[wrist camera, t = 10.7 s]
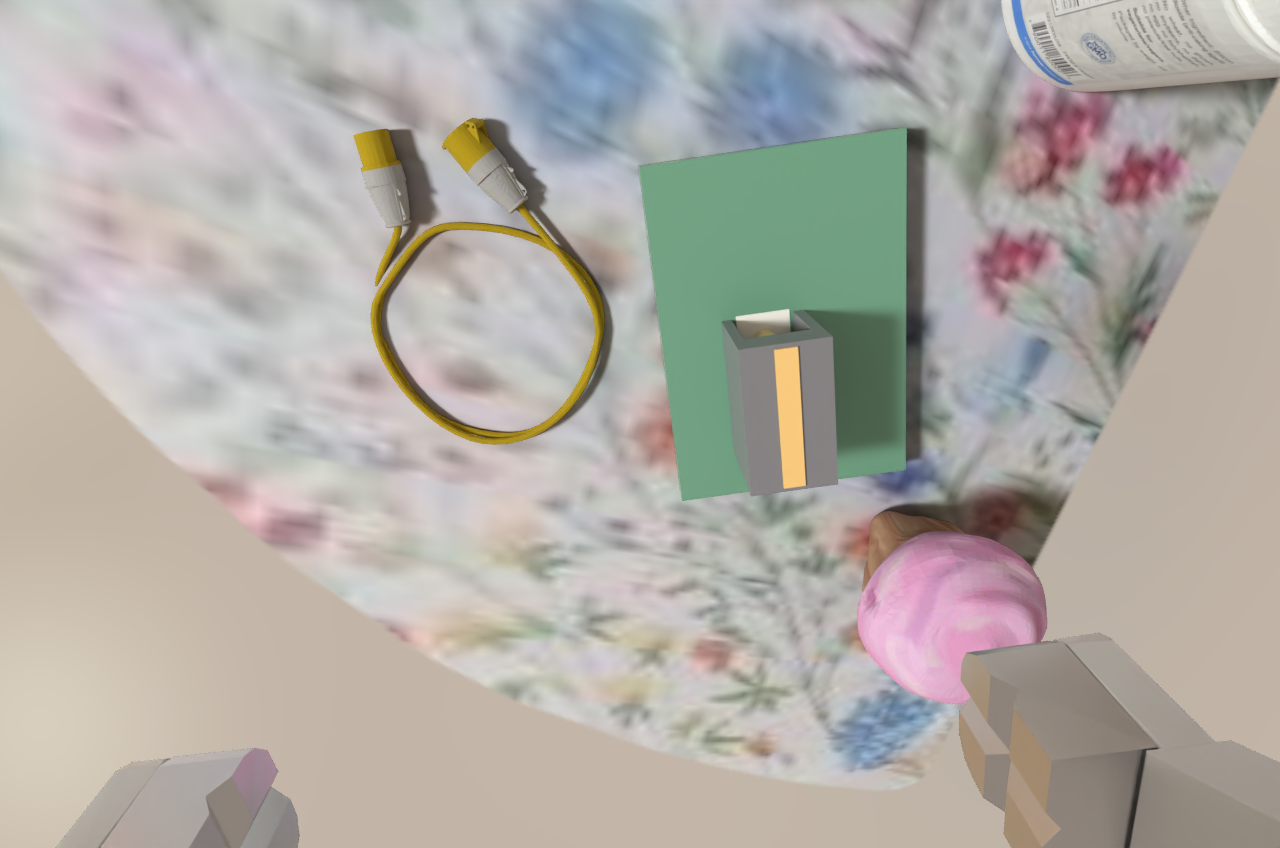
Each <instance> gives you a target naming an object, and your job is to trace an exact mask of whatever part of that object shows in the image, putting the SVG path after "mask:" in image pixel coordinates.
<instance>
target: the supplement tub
mask: <svg viewBox="0 0 1280 848" xmlns="http://www.w3.org/2000/svg"><path fill="white" fill-rule="evenodd" d="M1002 13H1003V18H1004V23H1005V27H1006V30H1007V33H1008V36H1009V38H1010V41H1011V43H1012V45H1013V47H1014V49H1015V51H1016V53H1017V54H1018V56H1019V57H1020V58H1021V60H1022V61H1023V62H1024V63H1025V65H1026V66H1027V67H1028V68H1029V69H1030V70H1031V71H1032V72H1033V73H1035V74H1036V75H1037V76H1039V77H1040V78H1041V79H1043V80H1045V81H1047V82H1048V83H1050V84H1052V85H1055V86H1057V87H1060V88H1063V89H1066V90H1071V91H1076V92H1101V91H1118V90H1130V89H1142V88H1153V87H1165V86H1178V85H1190V84H1202V83H1214V82H1226V81H1238V80H1250V79H1263V78H1275V77H1280V0H1002Z"/></svg>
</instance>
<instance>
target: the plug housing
mask: <svg viewBox="0 0 1280 848" xmlns="http://www.w3.org/2000/svg"><path fill="white" fill-rule="evenodd" d="M793 322H794V332H789V333H782V334H775V335H768V336H761V337H754V338H747V339H744V338H743V337H742V335H741V334H740V332H739V331H738V329H737V328H736V326H735V325H734V323H733V322H732V320H728V321H721V324H722V335H723V345H724V355H725V366H726V376H727V387H728V397H729V407H730V418H731V428H732V439H733V449H734V454H735V456H736V459H737V461H738V464H739V466H740V469H741V471H742V474H743V477H744V479H745V482H746V484H747V487H748V489H749V492H750V495H751V496H757V495H764V494H771V493H778V492H785V491H793V490H800V489H807V488H814V487H821V486H828V485H836V484H838V467H837V439H836V412H835V385H834V358H833V336H832V335H831V334H829V333H828V332H827V331H826V330H825V329H824V328H823V327H822V326H821V325H819V324H818V323H817V322H816V321H815V320H814V319H813V318H812V317H811V316H810V315H808V314H807V313H806V312H805V311H804V310H797V311H793Z"/></svg>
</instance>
